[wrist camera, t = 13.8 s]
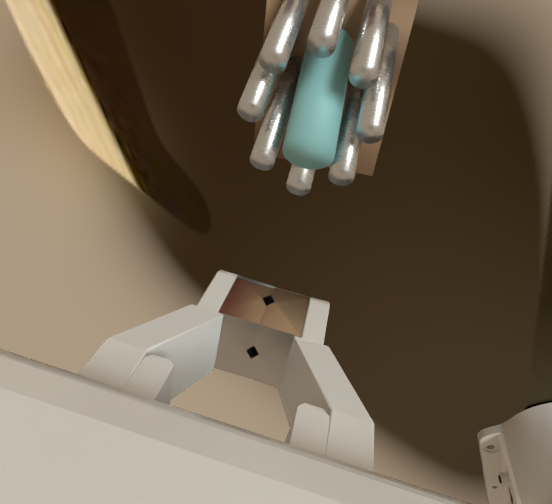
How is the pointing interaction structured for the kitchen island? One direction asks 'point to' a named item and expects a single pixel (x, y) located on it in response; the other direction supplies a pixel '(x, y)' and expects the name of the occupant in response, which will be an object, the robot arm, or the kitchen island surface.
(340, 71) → the peg
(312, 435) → the robot arm
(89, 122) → the kitchen island surface
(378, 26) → the metal rod rack
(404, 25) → the socket block
